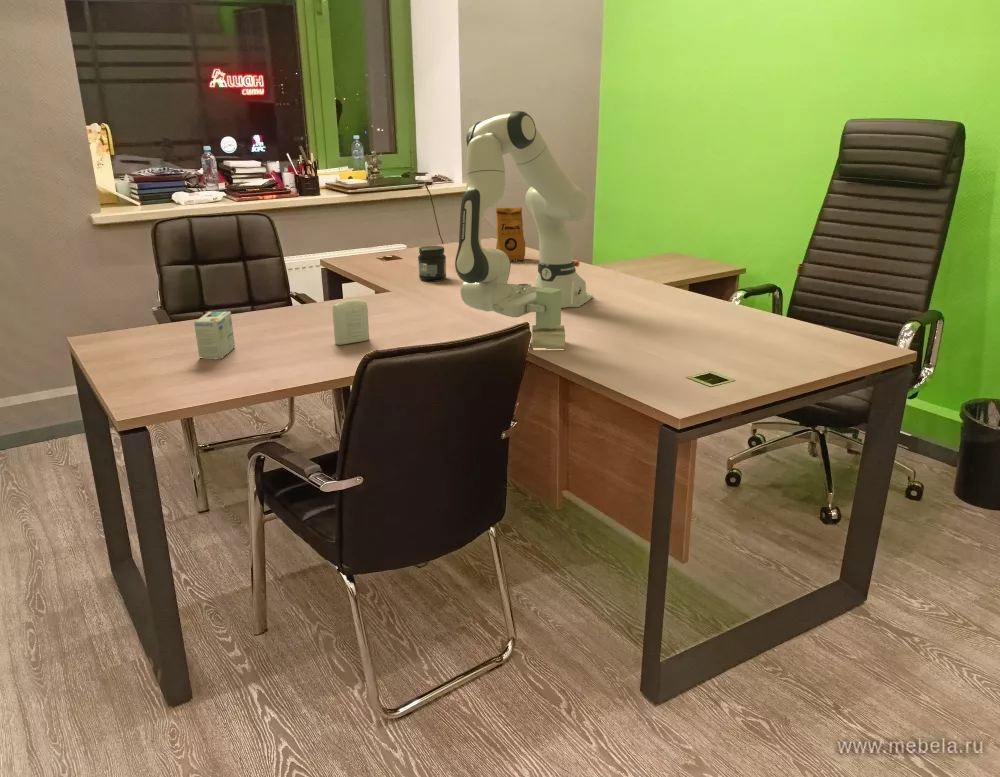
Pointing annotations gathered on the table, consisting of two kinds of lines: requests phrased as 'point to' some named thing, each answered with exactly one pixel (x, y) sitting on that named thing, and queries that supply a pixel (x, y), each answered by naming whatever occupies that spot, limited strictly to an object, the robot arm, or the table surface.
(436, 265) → the supplement container
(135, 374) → the table surface
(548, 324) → the green block
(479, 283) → the robot arm
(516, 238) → the coffee package
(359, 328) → the photo printer
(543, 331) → the base block
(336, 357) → the table surface
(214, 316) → the light bulb box
